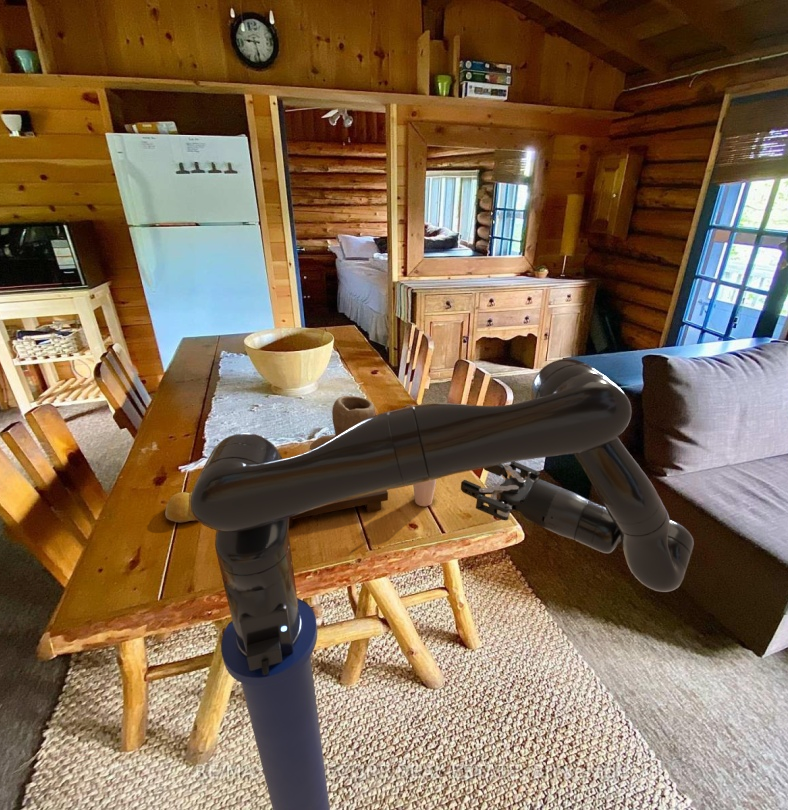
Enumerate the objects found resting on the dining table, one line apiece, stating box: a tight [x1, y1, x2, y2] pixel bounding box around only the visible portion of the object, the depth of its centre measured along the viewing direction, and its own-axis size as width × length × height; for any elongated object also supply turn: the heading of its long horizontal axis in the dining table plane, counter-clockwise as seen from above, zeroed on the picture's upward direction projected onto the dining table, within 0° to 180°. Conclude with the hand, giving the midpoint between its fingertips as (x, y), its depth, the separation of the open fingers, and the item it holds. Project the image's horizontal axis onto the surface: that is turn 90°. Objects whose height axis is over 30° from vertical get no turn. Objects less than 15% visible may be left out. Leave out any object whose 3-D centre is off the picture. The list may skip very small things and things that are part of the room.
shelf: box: [289, 490, 389, 529], centre depth 93 cm, size 12×24×4 cm, turn 109°
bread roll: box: [164, 491, 198, 523], centre depth 90 cm, size 8×9×4 cm
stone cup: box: [308, 395, 376, 451], centre depth 108 cm, size 15×12×15 cm
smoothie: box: [412, 479, 438, 507], centre depth 92 cm, size 6×6×14 cm
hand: (473, 474), depth 84 cm, fingers open, 8 cm apart
